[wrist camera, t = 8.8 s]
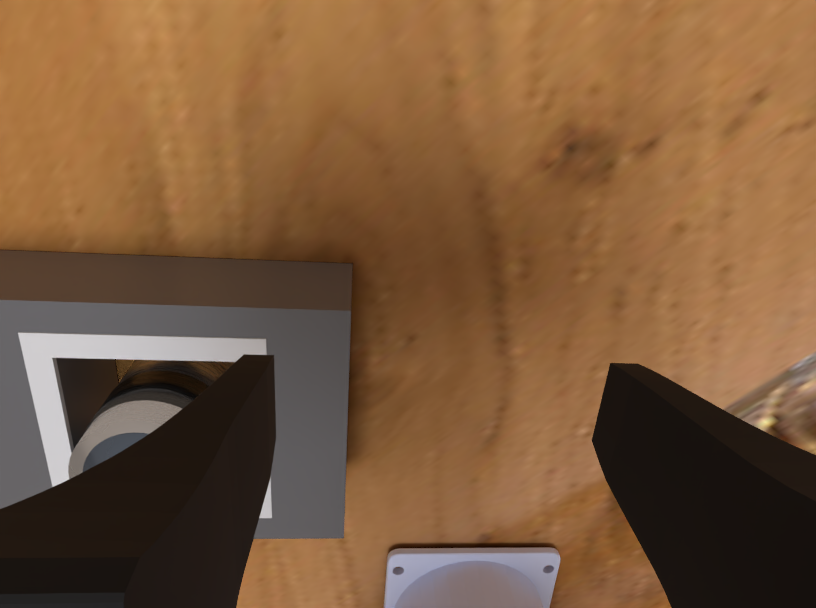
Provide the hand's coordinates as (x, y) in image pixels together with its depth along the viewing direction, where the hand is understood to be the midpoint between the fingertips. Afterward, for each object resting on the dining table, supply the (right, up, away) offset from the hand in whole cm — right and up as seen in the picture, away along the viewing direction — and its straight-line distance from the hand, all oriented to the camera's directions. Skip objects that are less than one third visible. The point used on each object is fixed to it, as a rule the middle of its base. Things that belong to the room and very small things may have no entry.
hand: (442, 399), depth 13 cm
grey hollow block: (-9, 0, +10) cm, 13 cm away
